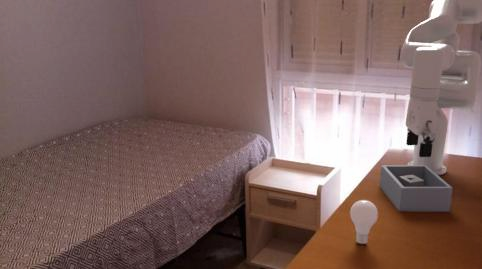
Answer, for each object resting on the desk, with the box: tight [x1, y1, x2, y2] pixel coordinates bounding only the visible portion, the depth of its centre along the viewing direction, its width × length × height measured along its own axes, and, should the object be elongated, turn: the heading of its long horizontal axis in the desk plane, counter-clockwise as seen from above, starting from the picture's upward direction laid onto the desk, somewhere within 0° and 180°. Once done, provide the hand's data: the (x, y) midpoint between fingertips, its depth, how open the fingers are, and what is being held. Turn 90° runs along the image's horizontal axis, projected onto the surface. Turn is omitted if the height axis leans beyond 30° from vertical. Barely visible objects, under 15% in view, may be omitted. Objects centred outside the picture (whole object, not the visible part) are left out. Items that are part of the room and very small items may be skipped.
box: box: [379, 164, 454, 213], centre depth 133 cm, size 18×14×7 cm
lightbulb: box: [349, 199, 379, 245], centre depth 108 cm, size 6×6×11 cm
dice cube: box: [399, 175, 424, 187], centre depth 134 cm, size 5×5×5 cm
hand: (418, 150), depth 131 cm, fingers open, 9 cm apart
